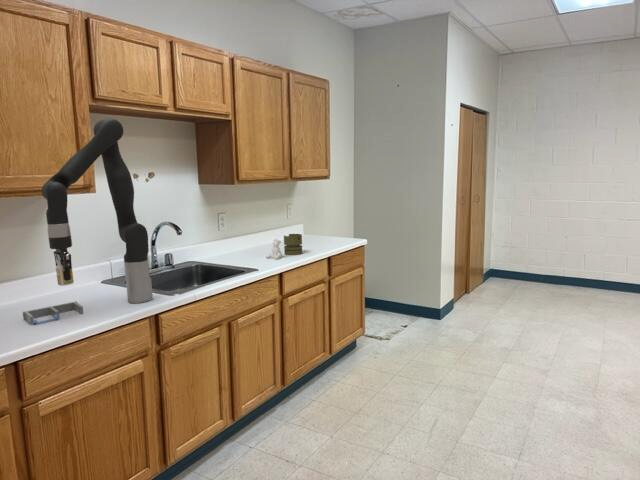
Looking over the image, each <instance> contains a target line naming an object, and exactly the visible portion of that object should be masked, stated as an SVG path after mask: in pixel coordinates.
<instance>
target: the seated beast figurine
mask: <svg viewBox="0 0 640 480" xmlns="http://www.w3.org/2000/svg"><path fill="white" fill-rule="evenodd" d="M281 243H282V241H281V240H279V239H278V238H274V239H273V241H272V248H271V253H268V254H267V255H265V259H267V260H269V259H270V260H274V261H279V260H280V259H281V258H282V256H283V253H282V251H281V249H280V244H281Z"/></svg>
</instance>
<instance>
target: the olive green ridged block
mask: <svg viewBox="0 0 640 480" xmlns="http://www.w3.org/2000/svg"><path fill="white" fill-rule="evenodd" d="M302 235H303V234H301V233H289V234H288V235H283V245H284V246H283V249H284V250H283V251H284V255H285V256H301V255H303V245H302V244H303V236H302Z"/></svg>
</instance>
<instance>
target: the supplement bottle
mask: <svg viewBox="0 0 640 480" xmlns="http://www.w3.org/2000/svg"><path fill="white" fill-rule="evenodd" d="M57 264H58V265H57V266H56V265H55V271H56V273H55V274H56V281H57V285H58V286H63V287H64V286H70V285H73V284H74V283H75V281H74V275H73V268H72V269H71V270H70V275H71V280H67V281H65V280H64V275H63V270H62V266H61V265H60V263H59V259H58V260H57ZM67 266H68V265H66V267H67Z"/></svg>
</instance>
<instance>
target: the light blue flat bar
mask: <svg viewBox="0 0 640 480" xmlns="http://www.w3.org/2000/svg"><path fill="white" fill-rule="evenodd" d="M59 318H60V317H59ZM59 318H58V315H54V317H52V318H48V319H47V318H46V319H42V320H38V318H34V320H33V322H32V323H33V325H32V326H37V325H41V324H45V323H46V324H47V323H51V322H57V321H60V319H59Z"/></svg>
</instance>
